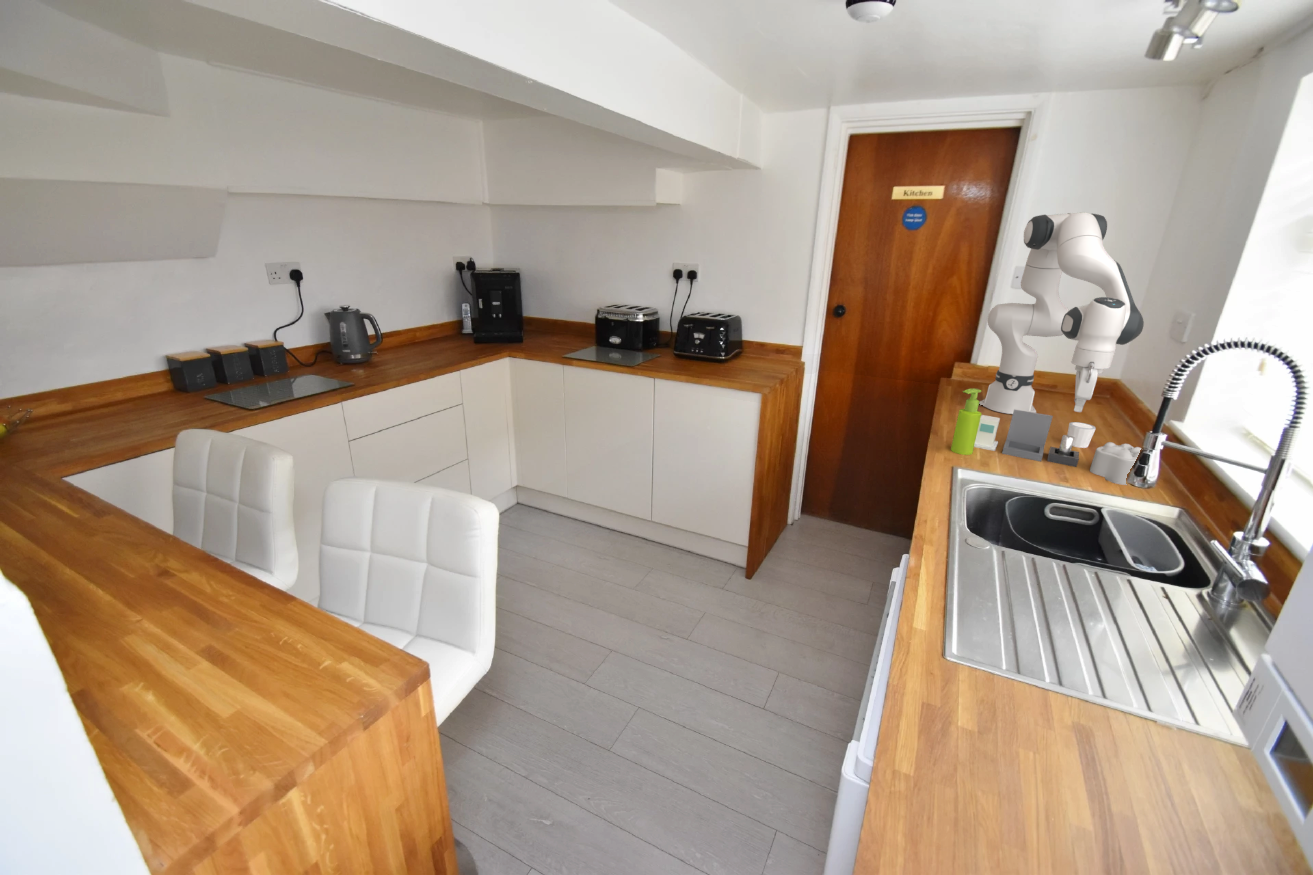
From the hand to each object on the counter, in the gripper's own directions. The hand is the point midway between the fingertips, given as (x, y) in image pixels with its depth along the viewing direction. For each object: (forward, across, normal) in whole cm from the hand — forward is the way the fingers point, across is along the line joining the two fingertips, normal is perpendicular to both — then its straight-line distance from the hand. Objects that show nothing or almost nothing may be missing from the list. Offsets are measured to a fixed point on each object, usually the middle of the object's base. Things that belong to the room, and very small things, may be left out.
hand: (1077, 406), depth 162 cm
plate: (+17, -1, +20) cm, 27 cm away
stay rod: (+17, -1, 0) cm, 17 cm away
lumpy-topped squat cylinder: (+17, -2, -13) cm, 22 cm away
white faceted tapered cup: (+18, +18, -4) cm, 26 cm away
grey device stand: (+17, -1, +10) cm, 20 cm away
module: (+16, -1, +20) cm, 26 cm away
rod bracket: (+17, -1, 0) cm, 17 cm away
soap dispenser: (+17, -12, +25) cm, 33 cm away
